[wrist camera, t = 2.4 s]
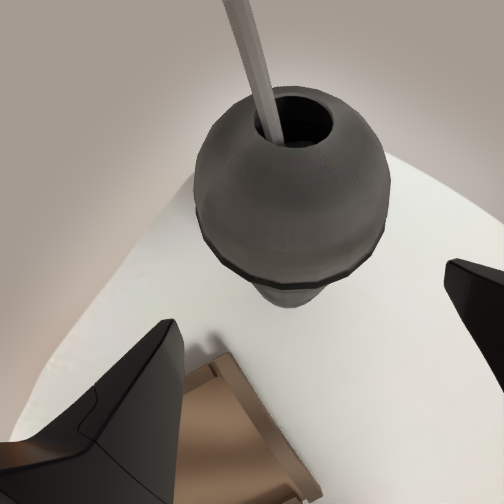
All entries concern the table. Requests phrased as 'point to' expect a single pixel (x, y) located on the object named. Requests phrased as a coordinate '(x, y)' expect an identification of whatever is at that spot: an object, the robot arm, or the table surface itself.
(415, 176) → the table surface
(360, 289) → the table surface
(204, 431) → the walnut tray
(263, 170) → the beverage cup
